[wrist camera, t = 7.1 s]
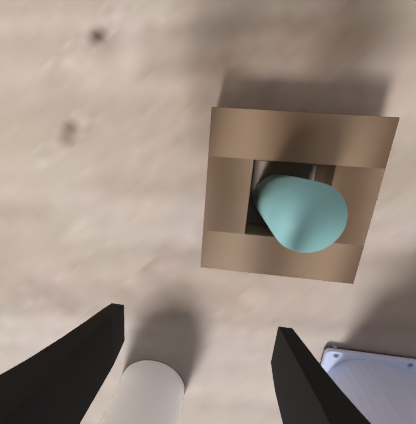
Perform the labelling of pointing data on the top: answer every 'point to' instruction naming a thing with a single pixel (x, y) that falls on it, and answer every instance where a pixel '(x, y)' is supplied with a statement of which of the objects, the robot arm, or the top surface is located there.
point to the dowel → (301, 212)
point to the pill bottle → (146, 395)
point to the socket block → (325, 173)
